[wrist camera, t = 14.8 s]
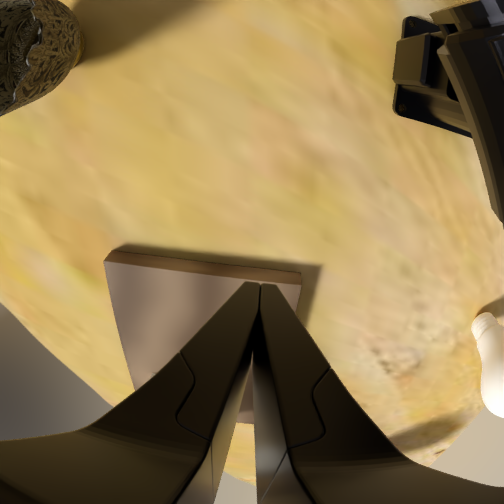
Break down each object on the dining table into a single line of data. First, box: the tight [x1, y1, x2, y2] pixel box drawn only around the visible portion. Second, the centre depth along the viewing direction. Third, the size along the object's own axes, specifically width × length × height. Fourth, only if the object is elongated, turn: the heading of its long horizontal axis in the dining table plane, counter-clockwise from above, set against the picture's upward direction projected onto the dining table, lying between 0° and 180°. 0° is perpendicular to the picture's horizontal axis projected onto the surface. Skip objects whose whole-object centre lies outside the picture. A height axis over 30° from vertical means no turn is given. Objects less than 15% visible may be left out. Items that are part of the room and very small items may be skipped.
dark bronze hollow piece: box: [0, 0, 84, 116], centre depth 12 cm, size 8×7×8 cm
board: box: [104, 251, 302, 424], centre depth 27 cm, size 14×19×2 cm
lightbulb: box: [471, 312, 504, 418], centre depth 19 cm, size 6×6×11 cm
